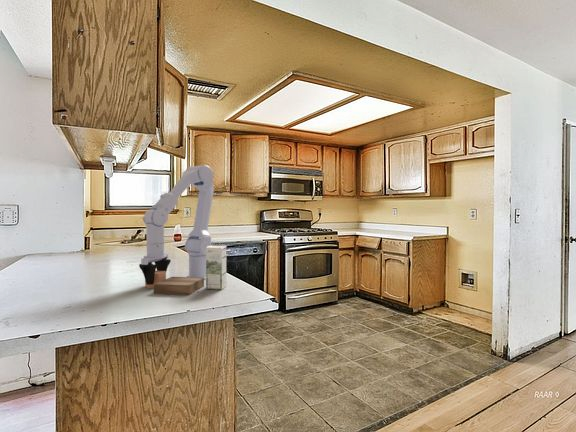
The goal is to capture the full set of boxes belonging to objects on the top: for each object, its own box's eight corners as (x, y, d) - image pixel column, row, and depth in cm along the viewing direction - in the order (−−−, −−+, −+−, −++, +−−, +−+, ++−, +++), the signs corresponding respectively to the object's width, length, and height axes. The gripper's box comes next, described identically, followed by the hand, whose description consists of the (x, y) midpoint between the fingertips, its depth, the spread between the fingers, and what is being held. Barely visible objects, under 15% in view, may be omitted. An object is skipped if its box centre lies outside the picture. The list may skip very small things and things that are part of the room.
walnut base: (171, 285, 119) (171, 276, 119) (204, 286, 117) (204, 277, 117) (153, 293, 107) (153, 284, 107) (189, 294, 105) (189, 285, 105)
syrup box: (227, 286, 117) (226, 244, 117) (222, 290, 112) (221, 246, 111) (211, 285, 118) (211, 244, 118) (205, 289, 112) (205, 246, 112)
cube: (153, 284, 120) (152, 270, 120) (166, 284, 120) (165, 271, 119) (145, 287, 115) (145, 273, 115) (158, 288, 115) (158, 273, 114)
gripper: (155, 241, 125) (156, 277, 125) (132, 245, 110) (132, 286, 111) (173, 241, 124) (173, 277, 124) (152, 245, 109) (152, 286, 110)
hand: (155, 281), depth 117 cm, fingers open, 7 cm apart
